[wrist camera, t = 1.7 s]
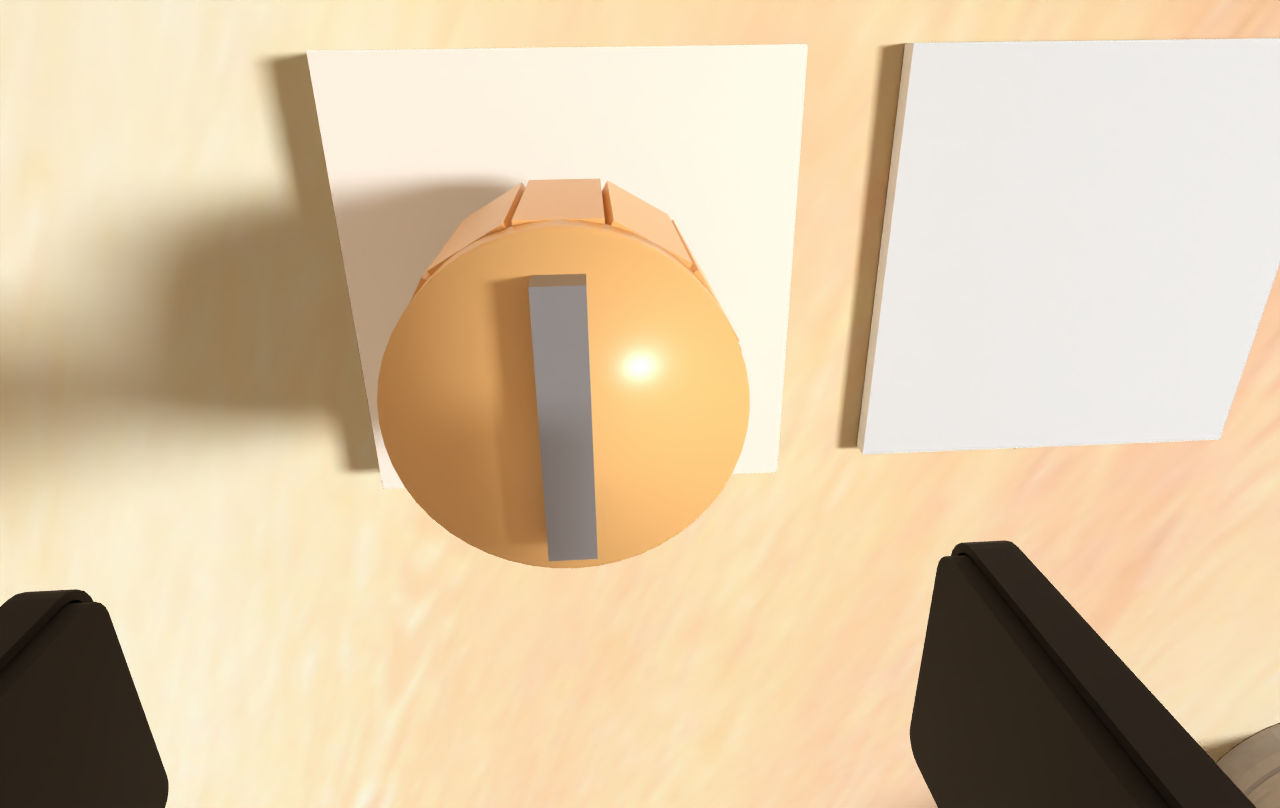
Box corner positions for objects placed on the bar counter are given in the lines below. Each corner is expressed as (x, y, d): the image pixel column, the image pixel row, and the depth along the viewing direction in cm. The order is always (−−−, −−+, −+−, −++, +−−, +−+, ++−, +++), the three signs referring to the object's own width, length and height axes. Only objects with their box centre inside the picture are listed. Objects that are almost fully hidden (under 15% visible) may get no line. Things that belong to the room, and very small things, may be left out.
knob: (416, 182, 17) (333, 247, 12) (709, 175, 18) (768, 235, 12) (450, 444, 20) (397, 599, 14) (703, 434, 20) (748, 581, 15)
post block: (325, 50, 20) (156, 51, 12) (792, 44, 20) (921, 41, 12) (394, 464, 25) (306, 654, 17) (766, 449, 25) (846, 625, 18)
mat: (904, 42, 20) (913, 43, 20) (1336, 37, 21) (1357, 36, 20) (856, 445, 25) (862, 454, 25) (1206, 431, 26) (1219, 439, 25)
